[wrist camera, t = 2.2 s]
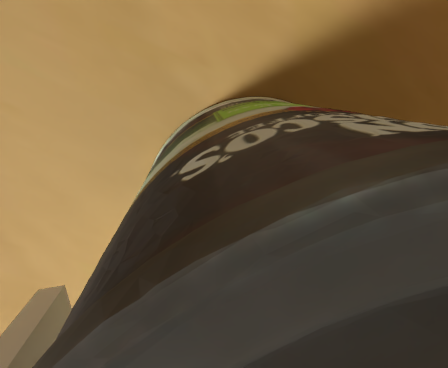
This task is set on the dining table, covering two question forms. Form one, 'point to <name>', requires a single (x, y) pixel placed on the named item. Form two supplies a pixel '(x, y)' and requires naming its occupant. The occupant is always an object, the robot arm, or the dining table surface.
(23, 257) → the dining table surface
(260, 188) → the coffee can
